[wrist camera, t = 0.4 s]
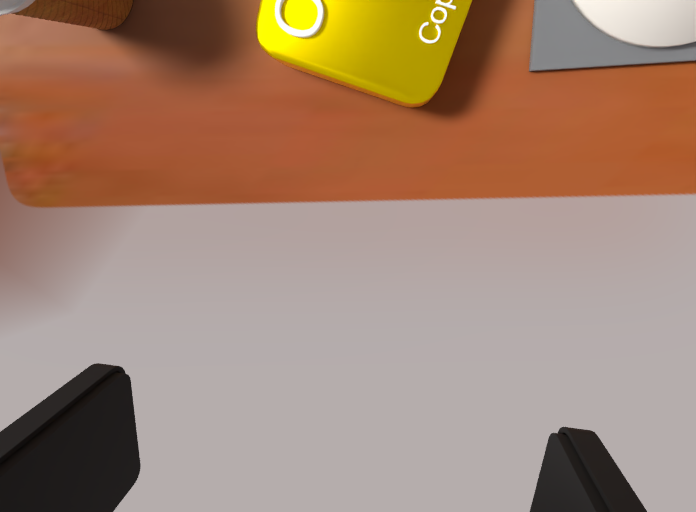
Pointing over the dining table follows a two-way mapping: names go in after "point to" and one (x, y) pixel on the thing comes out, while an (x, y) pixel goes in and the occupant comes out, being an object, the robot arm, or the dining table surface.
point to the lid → (642, 20)
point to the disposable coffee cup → (72, 11)
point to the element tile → (366, 42)
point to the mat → (587, 42)
